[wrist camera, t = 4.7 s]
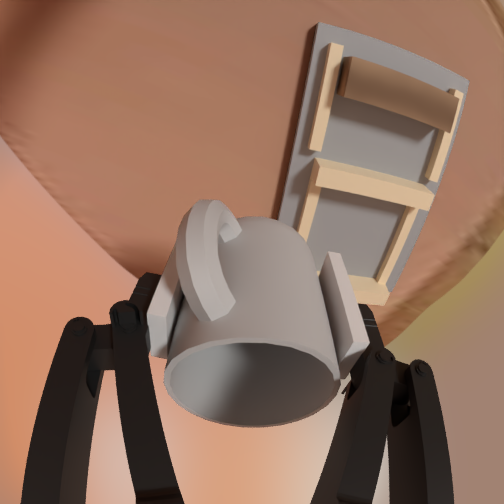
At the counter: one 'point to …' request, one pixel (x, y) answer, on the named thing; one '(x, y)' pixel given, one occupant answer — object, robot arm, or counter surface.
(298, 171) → the jig
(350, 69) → the brown rounded bar
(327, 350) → the cup
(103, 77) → the counter surface
